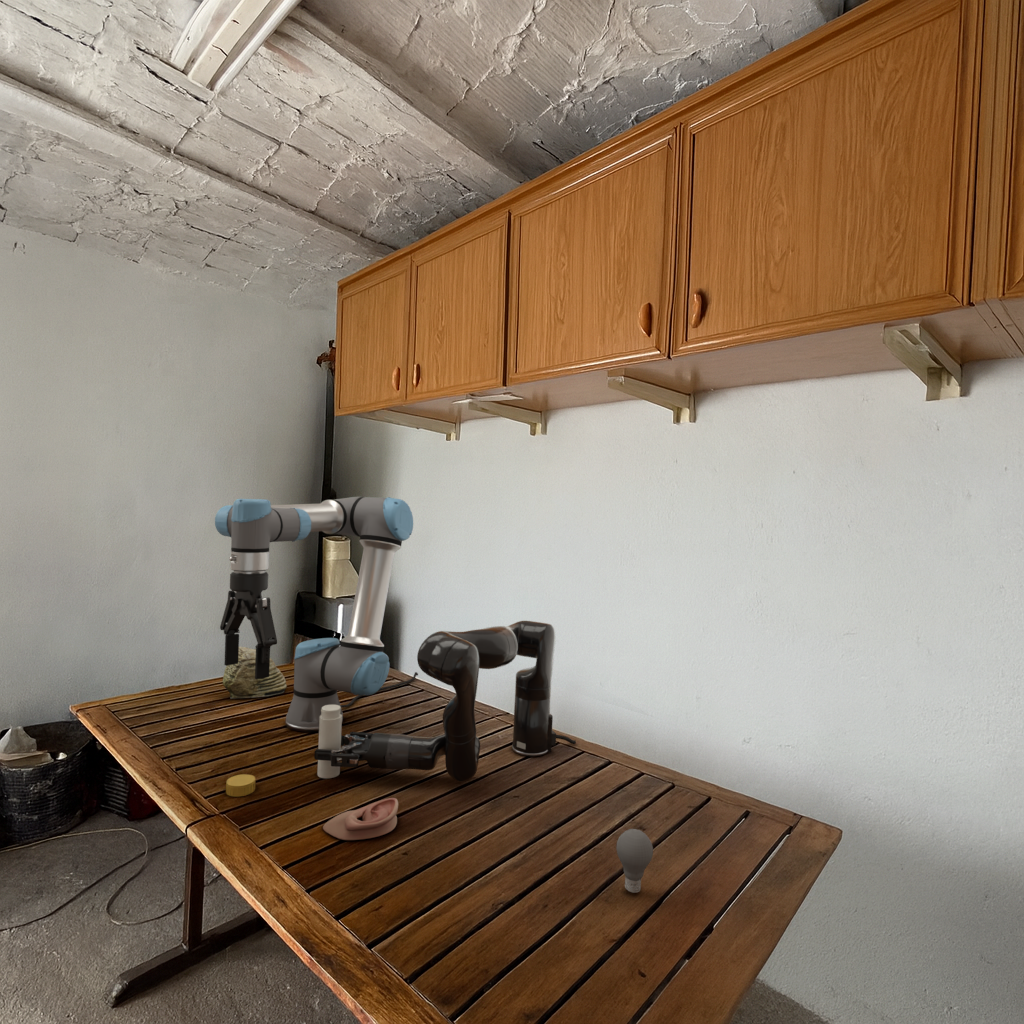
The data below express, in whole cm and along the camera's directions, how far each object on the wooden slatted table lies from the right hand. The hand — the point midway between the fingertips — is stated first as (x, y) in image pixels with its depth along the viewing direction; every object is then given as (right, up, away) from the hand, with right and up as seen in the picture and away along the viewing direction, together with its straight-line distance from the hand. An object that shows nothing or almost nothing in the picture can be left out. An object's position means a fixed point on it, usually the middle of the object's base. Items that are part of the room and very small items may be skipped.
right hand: (321, 746), depth 145 cm
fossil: (-37, -3, +53) cm, 65 cm away
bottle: (+2, -6, 0) cm, 6 cm away
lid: (-14, -4, -10) cm, 18 cm away
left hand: (-13, +20, -10) cm, 26 cm away
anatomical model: (+14, -7, -22) cm, 28 cm away
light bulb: (+64, -10, -39) cm, 75 cm away
